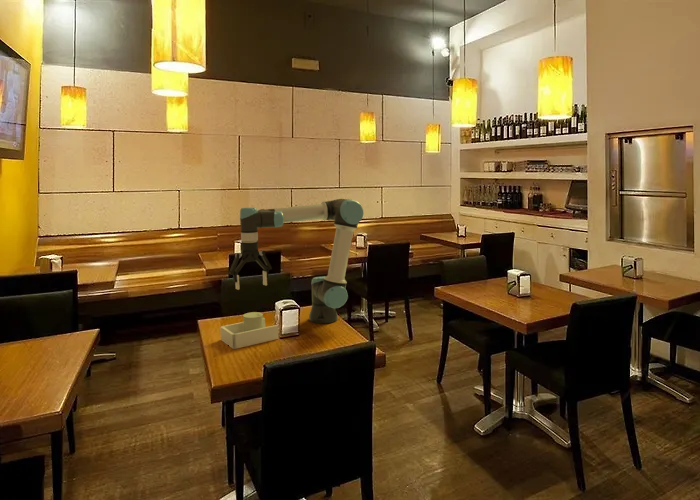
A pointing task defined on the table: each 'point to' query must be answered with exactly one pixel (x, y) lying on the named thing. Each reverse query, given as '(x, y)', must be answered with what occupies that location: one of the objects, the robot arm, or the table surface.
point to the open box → (247, 335)
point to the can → (253, 321)
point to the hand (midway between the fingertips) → (251, 287)
